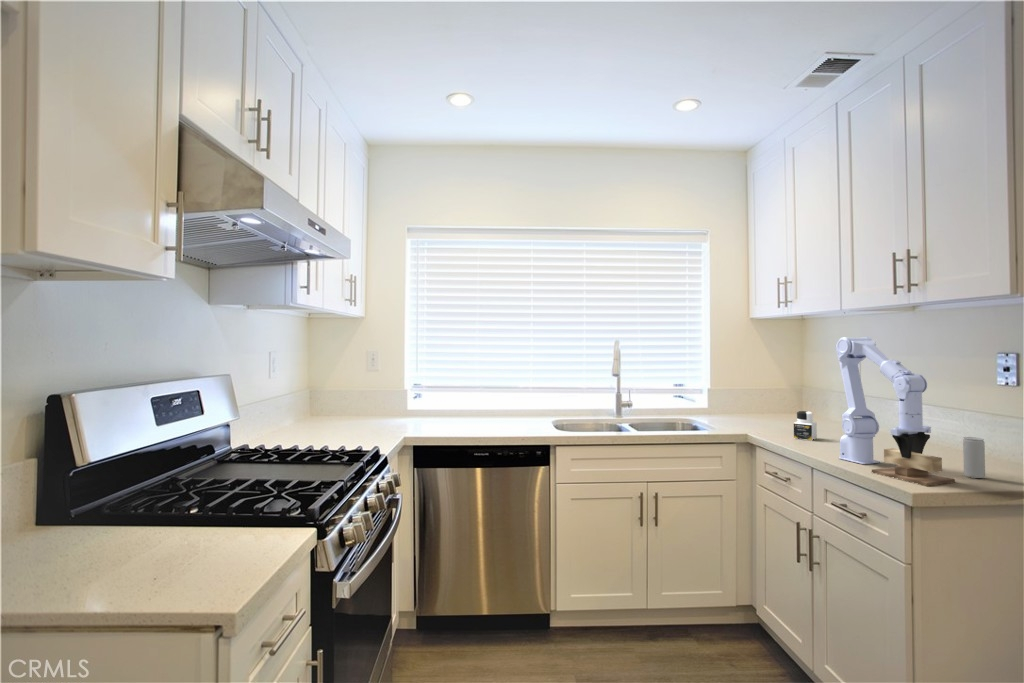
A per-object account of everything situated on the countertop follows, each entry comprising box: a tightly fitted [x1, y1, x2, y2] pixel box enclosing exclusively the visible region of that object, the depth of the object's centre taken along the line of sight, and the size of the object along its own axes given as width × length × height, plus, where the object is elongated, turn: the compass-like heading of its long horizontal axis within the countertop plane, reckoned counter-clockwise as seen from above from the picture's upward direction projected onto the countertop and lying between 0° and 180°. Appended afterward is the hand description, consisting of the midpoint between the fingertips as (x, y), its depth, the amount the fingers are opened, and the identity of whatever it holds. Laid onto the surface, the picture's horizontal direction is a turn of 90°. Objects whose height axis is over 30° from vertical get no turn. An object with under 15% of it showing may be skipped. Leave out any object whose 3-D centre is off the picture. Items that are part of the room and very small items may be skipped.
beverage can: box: [962, 436, 986, 479], centre depth 149 cm, size 5×5×12 cm
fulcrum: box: [871, 465, 956, 487], centre depth 150 cm, size 16×12×4 cm
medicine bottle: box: [793, 410, 818, 441], centre depth 212 cm, size 7×7×12 cm
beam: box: [883, 447, 943, 473], centre depth 150 cm, size 14×4×4 cm, turn 17°
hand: (911, 457), depth 150 cm, fingers closed on beam, 4 cm apart
